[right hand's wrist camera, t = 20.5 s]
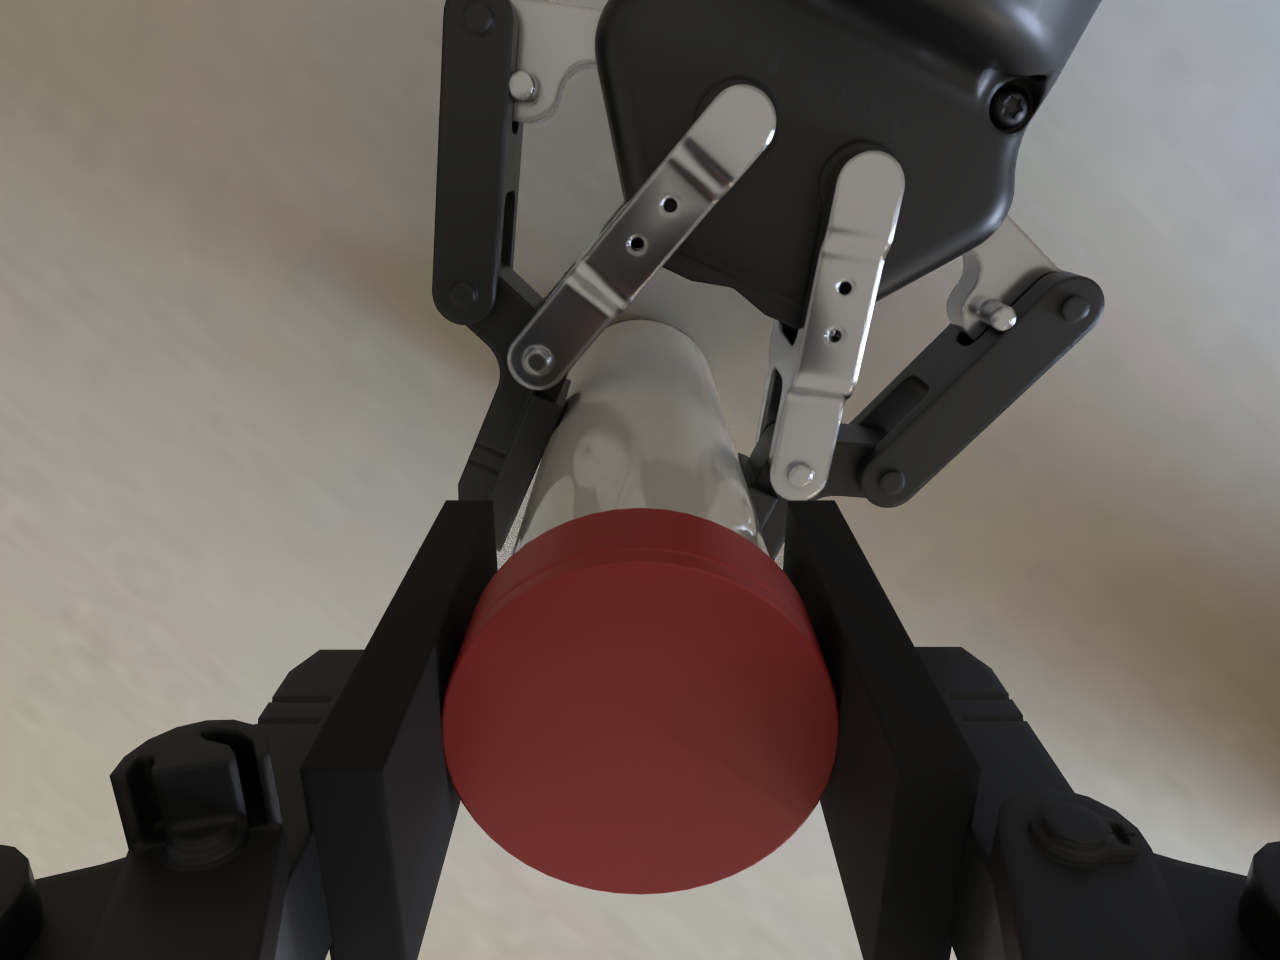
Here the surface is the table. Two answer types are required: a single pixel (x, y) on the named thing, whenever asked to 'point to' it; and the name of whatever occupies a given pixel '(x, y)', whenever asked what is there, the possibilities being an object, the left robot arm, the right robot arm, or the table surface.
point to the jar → (641, 437)
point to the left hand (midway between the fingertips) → (590, 567)
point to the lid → (640, 704)
